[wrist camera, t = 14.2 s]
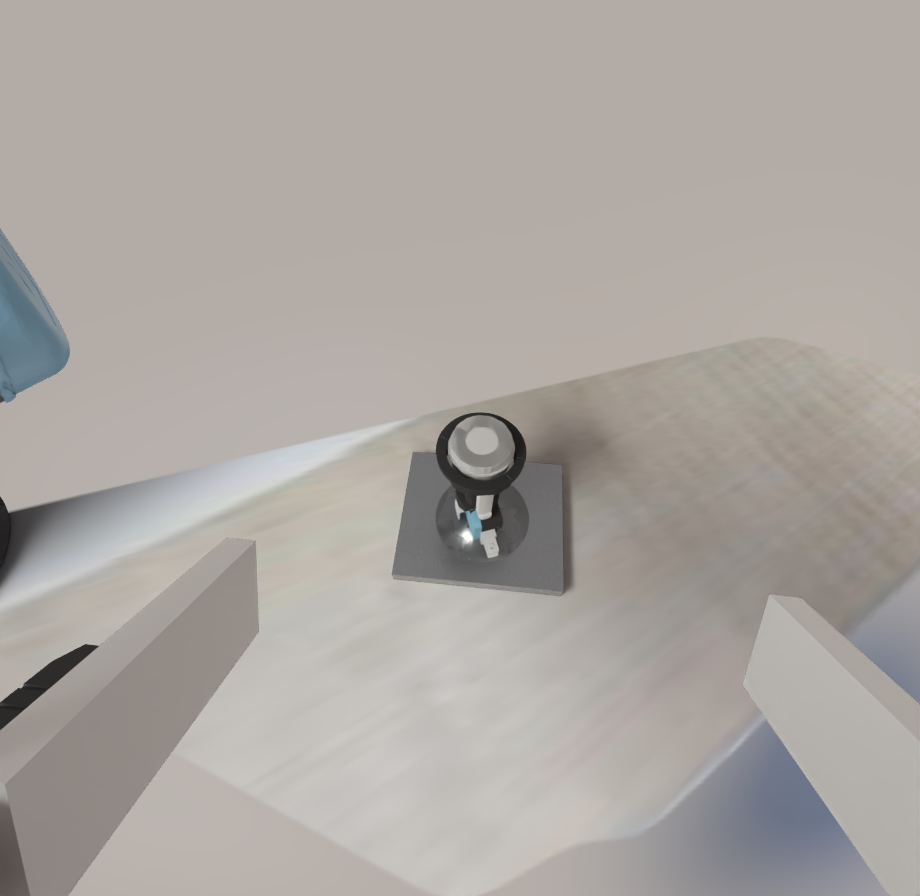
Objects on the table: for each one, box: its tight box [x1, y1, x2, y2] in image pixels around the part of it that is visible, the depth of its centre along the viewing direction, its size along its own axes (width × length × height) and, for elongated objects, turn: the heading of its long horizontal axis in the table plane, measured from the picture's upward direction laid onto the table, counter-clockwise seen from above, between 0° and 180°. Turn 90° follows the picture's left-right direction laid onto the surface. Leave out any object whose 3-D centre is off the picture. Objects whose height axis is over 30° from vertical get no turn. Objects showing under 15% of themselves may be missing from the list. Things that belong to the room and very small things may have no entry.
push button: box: [436, 413, 526, 558], centre depth 31 cm, size 7×5×10 cm
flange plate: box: [392, 452, 564, 596], centre depth 36 cm, size 12×10×1 cm
